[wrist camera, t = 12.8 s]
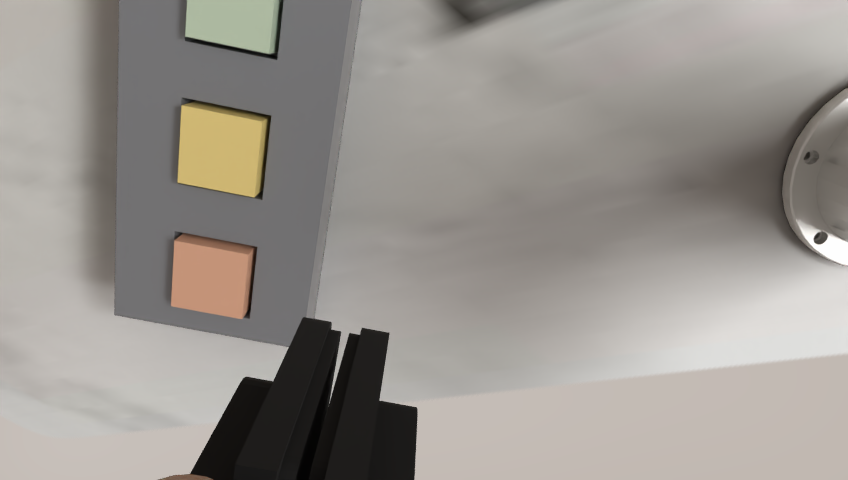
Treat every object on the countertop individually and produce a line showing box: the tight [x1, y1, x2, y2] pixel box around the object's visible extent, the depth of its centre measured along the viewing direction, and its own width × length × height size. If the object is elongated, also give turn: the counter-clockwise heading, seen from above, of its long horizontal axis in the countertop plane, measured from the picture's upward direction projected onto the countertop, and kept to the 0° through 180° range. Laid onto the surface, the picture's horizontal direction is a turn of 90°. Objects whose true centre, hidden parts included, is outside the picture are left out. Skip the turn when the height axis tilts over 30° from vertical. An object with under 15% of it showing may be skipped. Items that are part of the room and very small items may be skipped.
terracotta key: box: [171, 233, 257, 319], centre depth 36 cm, size 4×4×2 cm
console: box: [114, 0, 362, 347], centre depth 35 cm, size 12×24×4 cm, turn 169°
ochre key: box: [177, 101, 271, 197], centre depth 33 cm, size 4×4×2 cm
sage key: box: [185, 0, 284, 54], centre depth 31 cm, size 4×4×2 cm
